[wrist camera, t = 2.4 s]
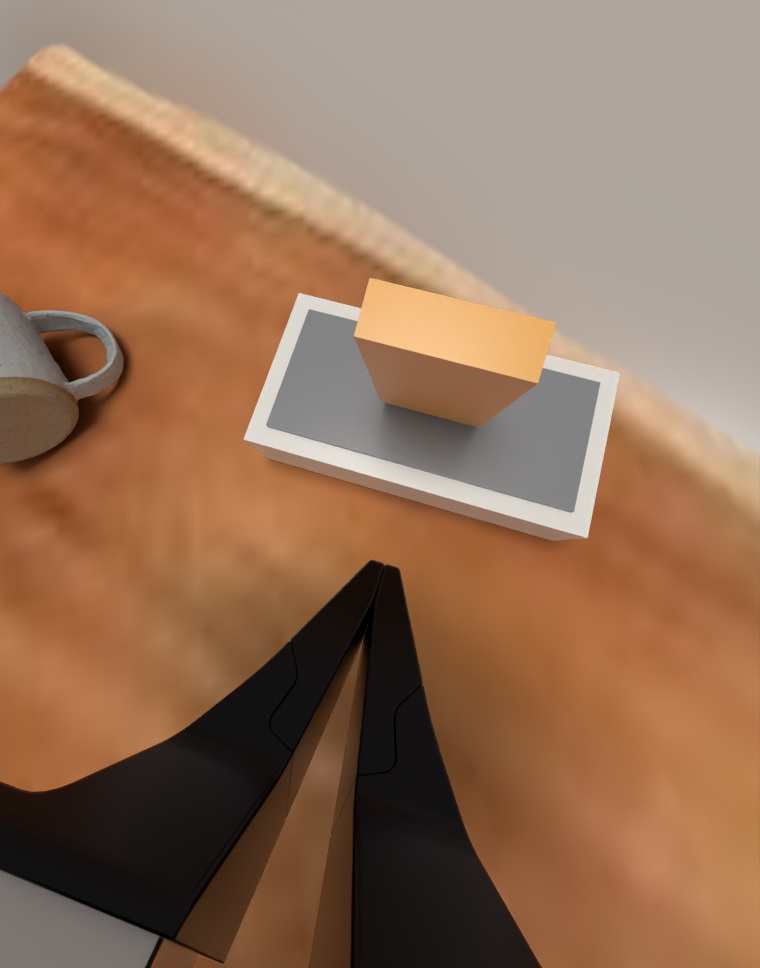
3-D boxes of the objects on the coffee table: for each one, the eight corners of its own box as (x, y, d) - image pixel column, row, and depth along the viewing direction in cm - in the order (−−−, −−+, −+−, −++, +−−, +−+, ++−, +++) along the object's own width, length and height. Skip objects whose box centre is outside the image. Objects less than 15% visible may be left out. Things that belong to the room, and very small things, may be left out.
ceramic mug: (18, 486, 23) (-157, 452, 16) (-41, 394, 25) (-227, 323, 17) (157, 386, 25) (57, 311, 17) (94, 304, 26) (-25, 201, 18)
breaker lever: (479, 428, 18) (538, 383, 9) (380, 401, 18) (353, 336, 10) (488, 396, 18) (556, 322, 9) (389, 370, 18) (369, 277, 10)
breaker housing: (551, 540, 22) (590, 537, 17) (268, 458, 23) (241, 437, 19) (581, 403, 23) (623, 369, 19) (313, 334, 25) (297, 289, 20)
